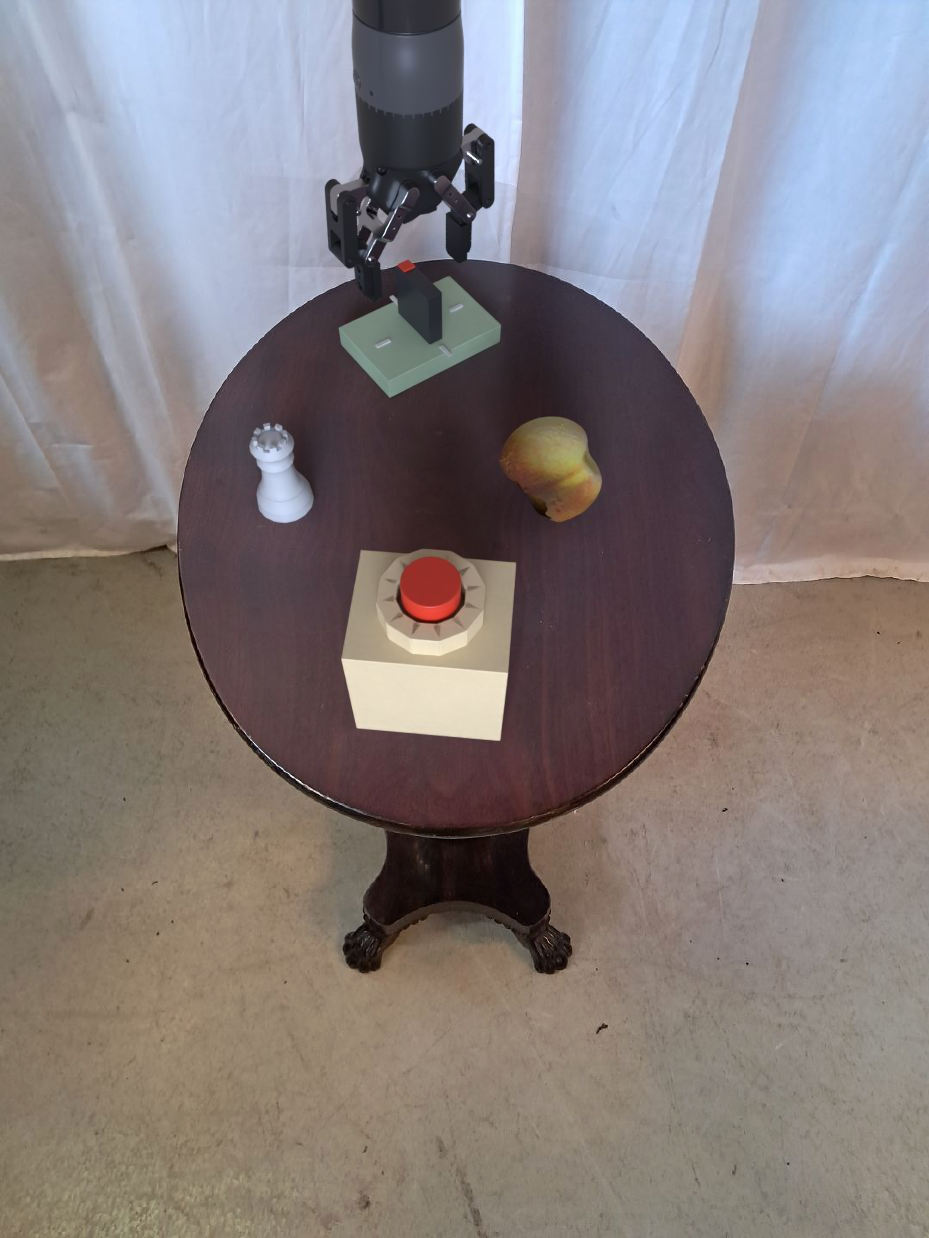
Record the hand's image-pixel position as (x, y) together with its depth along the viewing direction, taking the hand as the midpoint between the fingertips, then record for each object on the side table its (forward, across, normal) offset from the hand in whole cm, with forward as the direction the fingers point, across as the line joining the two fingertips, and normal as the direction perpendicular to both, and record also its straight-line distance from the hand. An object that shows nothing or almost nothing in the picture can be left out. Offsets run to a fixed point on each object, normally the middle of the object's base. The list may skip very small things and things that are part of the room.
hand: (415, 276), depth 76 cm
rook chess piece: (+8, -19, -9) cm, 22 cm away
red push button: (-4, -19, -29) cm, 35 cm away
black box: (+5, 0, 0) cm, 5 cm away
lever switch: (+7, 0, 0) cm, 7 cm away
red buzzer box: (+7, -18, -29) cm, 35 cm away
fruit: (+7, -2, -21) cm, 22 cm away
